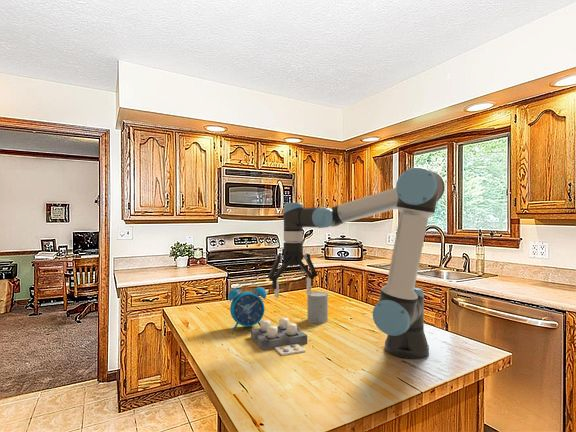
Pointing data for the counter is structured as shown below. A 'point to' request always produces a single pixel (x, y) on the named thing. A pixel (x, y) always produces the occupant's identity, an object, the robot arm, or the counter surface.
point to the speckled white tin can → (318, 307)
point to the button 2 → (272, 331)
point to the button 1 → (264, 325)
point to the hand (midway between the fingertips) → (293, 295)
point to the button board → (277, 338)
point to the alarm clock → (247, 306)
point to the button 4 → (291, 329)
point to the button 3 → (283, 323)
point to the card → (289, 349)
